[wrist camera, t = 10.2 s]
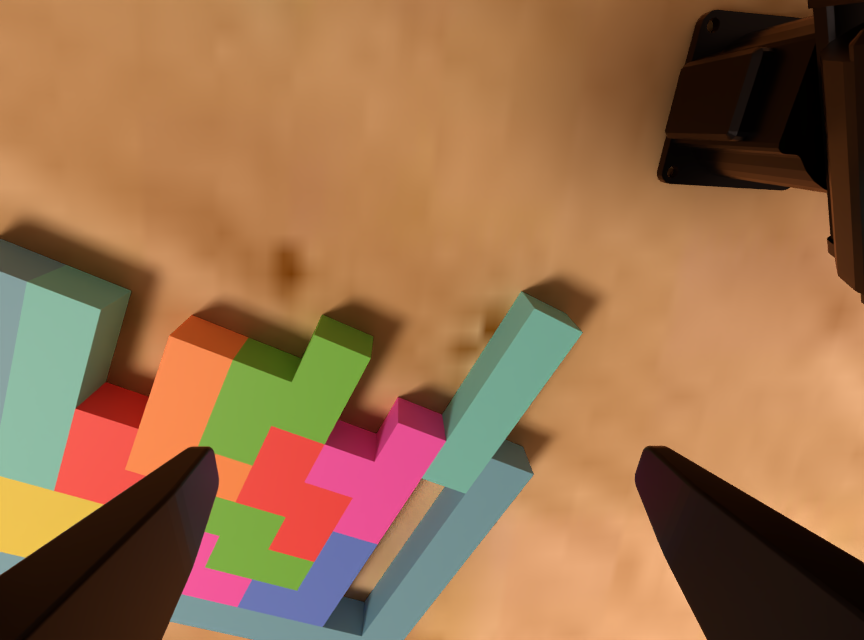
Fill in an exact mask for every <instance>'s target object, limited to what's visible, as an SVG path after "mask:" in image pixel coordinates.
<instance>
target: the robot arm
mask: <svg viewBox="0 0 864 640" xmlns="http://www.w3.org/2000/svg"><path fill="white" fill-rule="evenodd" d="M808 8H809V9H810V8H813V14H814V16H810V17H806V18H794V17H784V16H774V15H764V14H753V13H743V12H733V11H723V10H714V11H711V12H708V13H705V14H704V15H702V16H701V17H700V18H699V19H698V21H697V23H696V25H695V29H694V32H693V36H692V40H691V44H690V48H689V51H688V55H687V59H686V63H685V66H684V67H683V68H682V69H681V72H680V76H679V79H678V83H677V87H676V91H675V95H674V99H673V103H672V106H671V110H670V114H669V118H668V122H667V126H666V129H665V133H666V139H665V143H664V147H663V151H662V154H661V158H660V162H659V166H658V170H657V177H658V179H659V180H660V181H661V182H664V183H669V184H683V185H700V186H717V187H734V188H751V189H768V190H786V189H788V188H790V187H792V188H799V189H805V190H812V191H818V192H825V193H827V196H828V209H829V222H830V235H831V236H829V237H828V238H827V244H828V252H829V253H830V254H831V255H832V256H833V257H835V262H836V268H837V273H838V276H839V277H840V278H841V279H842V280H843V281H845V282H846V283H847V284H848V285H849V286H850V287H851V288H853V289H854V290H855V291H857V292H858V293H860V294H861V302H862V303H863V304H864V0H808ZM709 20H711V21H712V23H713V29H712V31H711V32H708V30H707V24H708V22H709ZM670 167H673V173H672V175H670V176H669V177H668V175H667V171H668V169H669V168H670ZM635 484H636V487H637V490H638V492H639V495H640V497H641V500H642V502H643V505H644V507H645V510H646V512H647V515H648V517H649V520H650V522H651V525H652V527H653V530H654V532H655V535H656V537H657V540H658V542H659V545H660V547H661V549H662V552H663V554H664V556H665V558H666V560H667V562H668V564H669V566H670V568H671V570H672V572H673V574H674V576H675V578H676V580H677V582H678V584H679V586H680V588H681V590H682V592H683V594H684V596H685V598H686V600H687V602H688V604H689V606H690V607H691V609H692V611H693V613H694V615H695V617H696V619H697V621H698V623H699V625H700V627H701V629H702V631H703V633H704V635H705V637H706V639H707V640H864V563H863V562H862V561H860V560H859V559H857V558H855V557H854V556H852V555H850V554H848V553H847V552H845V551H843V550H842V549H840V548H838V547H837V546H835V545H833V544H831V543H830V542H828V541H826V540H825V539H823V538H821V537H820V536H818V535H816V534H814V533H813V532H811V531H809V530H808V529H806V528H804V527H803V526H801V525H799V524H797V523H796V522H794V521H792V520H791V519H789V518H787V517H786V516H784V515H782V514H780V513H779V512H777V511H775V510H774V509H772V508H770V507H769V506H767V505H765V504H763V503H762V502H760V501H758V500H757V499H755V498H753V497H751V496H750V495H748V494H746V493H745V492H743V491H741V490H740V489H738V488H736V487H734V486H733V485H731V484H729V483H728V482H726V481H724V480H723V479H721V478H719V477H717V476H716V475H714V474H712V473H711V472H709V471H707V470H706V469H704V468H702V467H700V466H699V465H697V464H695V463H694V462H692V461H690V460H689V459H687V458H685V457H683V456H682V455H680V454H678V453H677V452H675V451H673V450H672V449H670V448H668V447H666V446H647V447H645V448H644V450H643V452H642V455H641V458H640V461H639V464H638V467H637V470H636V473H635ZM218 487H219V475H218V469H217V464H216V459H215V453H214V450H213V449H212V448H211V447H209V446H192V447H188V448H187V449H185V450H184V451H182V452H181V453H179V454H178V455H176V456H175V457H173V458H172V459H170V460H169V461H167V462H166V463H164V464H163V465H161V466H160V467H158V468H157V469H156V470H154V471H153V472H151V473H150V474H148V475H147V476H145V477H144V478H142V479H141V480H139V481H138V482H136V483H135V484H133V485H132V486H130V487H129V488H128V489H126V490H125V491H123V492H122V493H120V494H119V495H117V496H116V497H114V498H113V499H111V500H110V501H108V502H107V503H105V504H104V505H103V506H101V507H100V508H98V509H97V510H95V511H94V512H92V513H91V514H89V515H88V516H86V517H85V518H83V519H82V520H80V521H79V522H77V523H76V524H75V525H73V526H72V527H70V528H69V529H67V530H66V531H64V532H63V533H61V534H60V535H58V536H57V537H55V538H54V539H52V540H51V541H49V542H48V543H47V544H45V545H44V546H42V547H41V548H39V549H38V550H36V551H35V552H33V553H32V554H30V555H29V556H27V557H26V558H24V559H23V560H21V561H20V562H19V563H17V564H16V565H14V566H13V567H11V568H10V569H8V570H7V571H5V572H4V573H2V574H1V575H0V640H162V638H163V636H164V633H165V631H166V629H167V626H168V624H169V622H170V620H171V617H172V615H173V613H174V610H175V608H176V606H177V604H178V601H179V599H180V597H181V594H182V592H183V590H184V588H185V585H186V583H187V581H188V578H189V576H190V573H191V571H192V568H193V566H194V563H195V560H196V557H197V554H198V551H199V548H200V545H201V542H202V538H203V535H204V532H205V529H206V526H207V523H208V520H209V516H210V513H211V510H212V507H213V504H214V501H215V498H216V494H217V491H218Z"/></svg>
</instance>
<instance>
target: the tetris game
mask: <svg viewBox="0 0 864 640" xmlns="http://www.w3.org/2000/svg"><path fill="white" fill-rule="evenodd" d="M130 294H131V290H128V289H126V288H123V287H121V286H118V285H116V284H113V283H111V282H108V281H106V280H103V279H101V278H98V277H95V276H93V275H90V274H88V273H85V272H83V271H80V270H78V269H75V268H73V267H70V266H68V265H65V264H63V263H60V262H58V261H55V260H53V259H50V258H48V257H45V256H43V255H40V254H38V253H35V252H33V251H30V250H28V249H25V248H23V247H20V246H18V245H15V244H13V243H10V242H8V241H5V240H3V239H0V575H1V574H2V573H4V572H5V571H7V570H8V569H10V568H11V567H13V566H14V565H16V564H17V563H19V562H20V561H21V560H23V559H24V558H26V557H27V556H29V555H30V554H32V553H33V552H35V551H36V550H38V549H39V548H41V547H42V546H44V545H45V544H47V543H48V542H49V541H51V540H52V539H54V538H55V537H57V536H58V535H60V534H61V533H63V532H64V531H66V530H67V529H69V528H70V527H72V526H73V525H75V524H76V523H77V522H79V521H80V520H82V519H83V518H85V517H86V516H88V515H89V514H91V513H92V512H94V511H95V510H97V509H98V508H100V507H101V506H103V505H104V504H105V503H107V502H108V501H110V500H111V499H113V498H114V497H116V496H117V495H119V494H120V493H122V492H123V491H125V490H126V489H128V488H129V487H130V486H132V485H133V484H135V483H136V482H138V481H139V480H141V479H142V478H144V477H145V476H147V475H148V474H150V473H151V472H153V471H154V470H156V469H157V468H158V467H160V466H161V465H163V464H164V463H166V462H167V461H169V460H170V459H172V458H173V457H175V456H176V455H178V454H179V453H181V452H182V451H184V450H185V449H187V448H188V447H192V446H209V447H211V448H212V449H213V450H214V453H215V459H216V464H217V469H218V475H219V487H218V491H217V494H216V498H215V501H214V504H213V507H212V510H211V513H210V516H209V520H208V523H207V526H206V529H205V532H204V535H203V538H202V542H201V545H200V548H199V551H198V554H197V557H196V560H195V563H194V566H193V568H192V571H191V573H190V576H189V578H188V581H187V583H186V585H185V588H184V590H183V592H182V594H181V597H180V599H179V601H178V604H177V606H176V608H175V610H174V613H173V615H172V617H171V620H170V622H174V623H179V624H183V625H188V626H193V627H197V628H202V629H207V630H211V631H216V632H220V633H225V634H230V635H234V636H239V637H243V638H248V639H253V640H404V639H405V638H406V636H407V635H408V634H409V632H410V631H411V630H412V629H413V627H414V626H415V625H416V624H417V622H418V621H419V620H420V618H421V617H422V616H423V615H424V613H425V612H426V611H427V610H428V608H429V607H430V606H431V605H432V603H433V602H434V601H435V599H436V598H437V597H438V596H439V594H440V593H441V592H442V591H443V589H444V588H445V587H446V585H447V584H448V583H449V582H450V580H451V579H452V578H453V577H454V575H455V574H456V573H457V571H458V570H459V569H460V568H461V566H462V565H463V564H464V563H465V561H466V560H467V559H468V558H469V556H470V555H471V554H472V552H473V551H474V550H475V549H476V547H477V546H478V545H479V544H480V542H481V541H482V540H483V538H484V537H485V536H486V535H487V533H488V532H489V531H490V530H491V528H492V527H493V526H494V524H495V523H496V522H497V521H498V519H499V518H500V517H501V516H502V514H503V513H504V512H505V511H506V509H507V508H508V507H509V505H510V504H511V503H512V502H513V500H514V499H515V498H516V497H517V495H518V494H519V493H520V491H521V490H522V489H523V488H524V486H525V485H526V484H527V483H528V481H529V480H530V479H531V477H532V476H533V475H534V473H533V471H532V468H531V466H530V463H529V461H528V458H527V456H526V453H525V451H524V448H523V447H522V446H520V445H517V444H515V443H512V442H510V441H507V440H505V439H506V438H507V436H508V435H509V433H510V432H511V431H512V429H513V428H514V427H515V425H516V424H517V422H518V421H519V420H520V418H521V417H522V416H523V414H524V413H525V411H526V410H527V409H528V407H529V406H530V405H531V403H532V402H533V400H534V399H535V398H536V396H537V395H538V394H539V392H540V391H541V389H542V388H543V387H544V385H545V384H546V383H547V381H548V380H549V378H550V377H551V376H552V374H553V373H554V372H555V370H556V369H557V367H558V366H559V365H560V363H561V362H562V361H563V359H564V358H565V356H566V355H567V354H568V352H569V351H570V350H571V348H572V347H573V345H574V344H575V343H576V341H577V340H578V339H579V337H580V336H581V334H582V333H583V332H582V331H581V330H580V329H579V328H578V327H577V326H576V324H575V323H574V322H573V321H572V320H571V319H570V318H569V317H568V316H567V314H565V313H564V312H562V311H560V310H558V309H556V308H554V307H552V306H550V305H548V304H546V303H544V302H542V301H540V300H538V299H536V298H534V297H532V296H530V295H528V294H526V293H524V292H522V291H521V293H520V294H519V296H518V297H517V299H516V300H515V302H514V304H513V305H512V307H511V308H510V310H509V311H508V313H507V314H506V316H505V318H504V319H503V321H502V322H501V324H500V325H499V327H498V328H497V330H496V332H495V333H494V335H493V336H492V338H491V339H490V341H489V342H488V344H487V346H486V347H485V349H484V350H483V352H482V353H481V355H480V356H479V358H478V360H477V361H476V363H475V364H474V366H473V367H472V369H471V370H470V372H469V374H468V375H467V377H466V378H465V380H464V381H463V383H462V384H461V386H460V388H459V389H458V391H457V392H456V394H455V395H454V397H453V398H452V400H451V402H450V403H449V405H448V406H447V408H446V409H445V411H444V412H443V414H439V413H437V412H434V411H432V410H429V409H427V408H424V407H422V406H419V405H417V404H414V403H412V402H409V401H407V400H404V399H402V398H399V397H398V398H397V400H396V401H395V403H394V405H393V406H392V408H391V410H390V412H389V413H388V415H387V417H386V418H385V420H384V422H383V424H382V425H381V427H380V429H379V430H378V432H377V434H376V433H373V432H370V431H368V430H365V429H362V428H359V427H357V426H354V425H351V424H349V423H346V422H343V421H340V420H338V419H339V417H340V415H341V413H342V411H343V409H344V407H345V406H346V404H347V402H348V400H349V398H350V396H351V394H352V392H353V391H354V389H355V387H356V385H357V383H358V381H359V379H360V378H361V376H362V374H363V372H364V370H365V368H366V366H367V365H368V363H369V361H370V359H371V353H372V344H373V336H371V335H369V334H366V333H364V332H362V331H359V330H357V329H355V328H352V327H350V326H348V325H345V324H343V323H341V322H338V321H336V320H334V319H332V318H329V317H327V316H325V315H322V316H321V318H320V320H319V322H318V325H317V327H316V329H315V331H314V333H313V335H312V337H311V339H310V342H309V344H308V346H307V348H306V350H305V352H304V354H303V357H302V359H301V358H299V357H296V356H294V355H291V354H289V353H286V352H284V351H281V350H279V349H276V348H274V347H271V346H269V345H266V344H264V343H261V342H259V341H256V340H254V339H251V338H249V337H246V336H244V335H241V334H239V333H236V332H234V331H231V330H229V329H226V328H224V327H221V326H219V325H216V324H213V323H211V322H208V321H206V320H203V319H201V318H198V317H196V316H193V315H191V316H190V317H189V318H188V319H187V320H186V321H185V322H184V323H183V324H182V325H180V326H179V327H178V328H177V329H176V330H175V331H174V332H173V333H172V334H171V335H170V336H169V338H168V341H167V344H166V347H165V350H164V353H163V356H162V359H161V362H160V365H159V368H158V371H157V374H156V377H155V380H154V383H153V386H152V389H151V392H150V396H149V397H148V396H145V395H142V394H139V393H136V392H133V391H131V390H128V389H125V388H122V387H119V386H116V385H113V384H110V383H107V382H106V380H107V376H108V372H109V369H110V365H111V362H112V358H113V355H114V351H115V348H116V344H117V341H118V337H119V333H120V330H121V326H122V323H123V319H124V316H125V312H126V309H127V305H128V301H129V298H130ZM421 478H422V479H425V480H428V481H431V482H434V483H436V484H439V485H442V486H445V487H444V489H443V490H442V492H441V493H440V494H439V496H438V497H437V499H436V500H435V502H434V503H433V504H432V506H431V507H430V509H429V510H428V512H427V513H426V514H425V516H424V517H423V519H422V520H421V522H420V523H419V525H418V526H417V527H416V529H415V530H414V532H413V533H412V535H411V536H410V537H409V539H408V540H407V542H406V543H405V545H404V546H403V547H402V549H401V550H400V552H399V553H398V555H397V556H396V557H395V559H394V560H393V562H392V563H391V565H390V566H389V567H388V569H387V570H386V572H385V573H384V575H383V576H382V577H381V579H380V580H379V582H378V583H377V585H376V586H375V588H374V589H373V590H372V592H371V593H370V595H369V596H368V598H367V599H366V600H365V602H362V601H358V600H355V599H351V598H347V597H343V596H344V594H345V593H346V591H347V590H348V588H349V587H350V585H351V584H352V582H353V581H354V579H355V578H356V576H357V575H358V573H359V572H360V570H361V569H362V567H363V566H364V564H365V563H366V561H367V560H368V558H369V557H370V555H371V554H372V552H373V550H374V549H375V547H376V546H377V544H378V543H379V541H380V540H381V538H382V537H383V535H384V534H385V532H386V531H387V529H388V528H389V526H390V525H391V523H392V522H393V520H394V519H395V517H396V516H397V514H398V513H399V511H400V510H401V508H402V507H403V505H404V504H405V502H406V501H407V499H408V498H409V496H410V495H411V493H412V492H413V490H414V489H415V487H416V486H417V484H418V483H419V481H420V480H421Z"/></svg>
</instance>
